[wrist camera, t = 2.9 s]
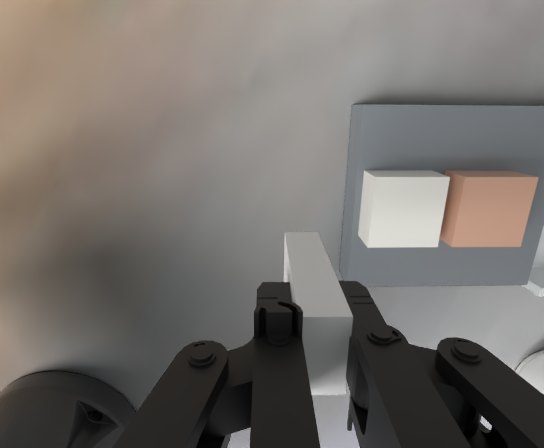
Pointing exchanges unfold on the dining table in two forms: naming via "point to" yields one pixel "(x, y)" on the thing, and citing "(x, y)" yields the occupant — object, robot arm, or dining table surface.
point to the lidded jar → (533, 370)
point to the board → (440, 157)
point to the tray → (537, 270)
